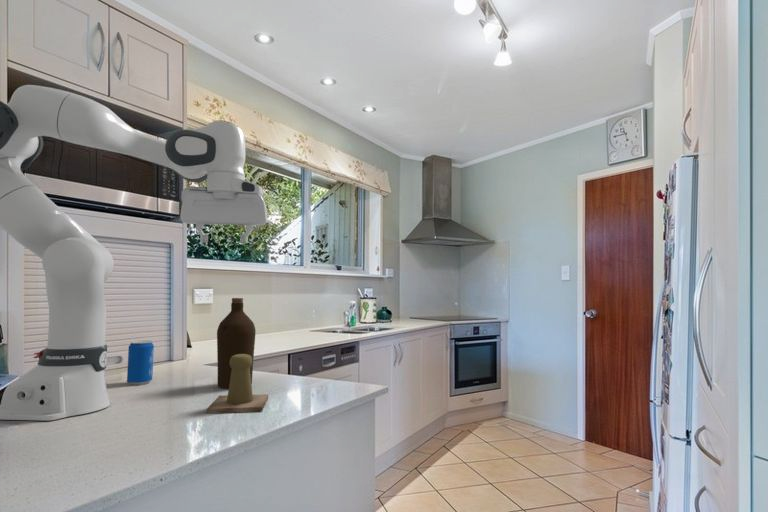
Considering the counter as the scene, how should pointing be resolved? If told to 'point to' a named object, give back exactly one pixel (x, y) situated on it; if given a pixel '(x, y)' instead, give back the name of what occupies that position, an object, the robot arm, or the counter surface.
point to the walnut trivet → (238, 405)
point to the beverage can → (140, 362)
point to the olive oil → (234, 340)
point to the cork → (240, 380)
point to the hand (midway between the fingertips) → (224, 242)
